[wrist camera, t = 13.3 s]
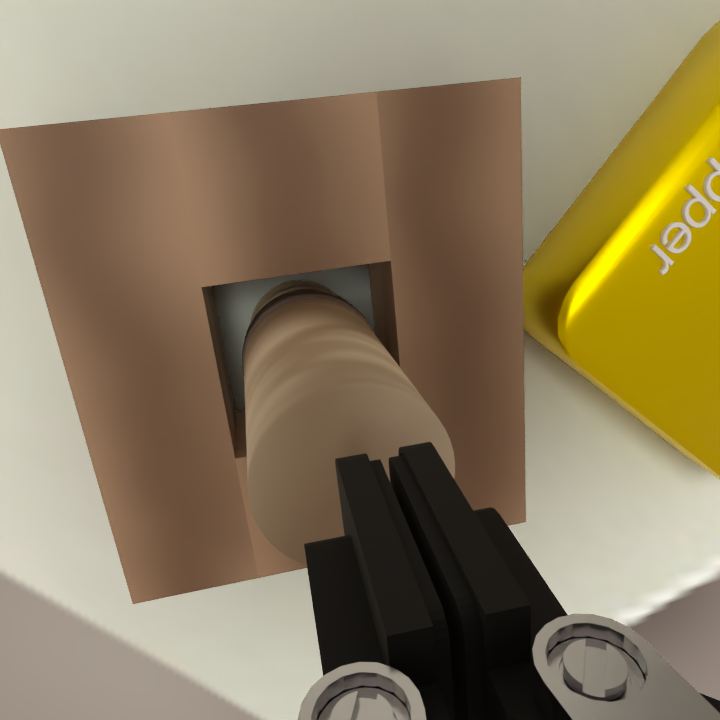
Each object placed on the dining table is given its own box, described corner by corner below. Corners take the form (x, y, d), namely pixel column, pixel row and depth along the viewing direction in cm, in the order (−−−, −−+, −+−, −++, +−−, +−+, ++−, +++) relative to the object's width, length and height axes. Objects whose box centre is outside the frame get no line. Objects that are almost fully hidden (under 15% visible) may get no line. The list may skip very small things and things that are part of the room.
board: (473, 89, 22) (520, 77, 19) (487, 472, 28) (525, 521, 24) (40, 133, 20) (-5, 129, 16) (148, 538, 26) (132, 604, 22)
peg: (349, 263, 23) (452, 364, 12) (361, 371, 25) (462, 549, 14) (232, 279, 23) (227, 402, 12) (252, 390, 24) (264, 591, 13)
